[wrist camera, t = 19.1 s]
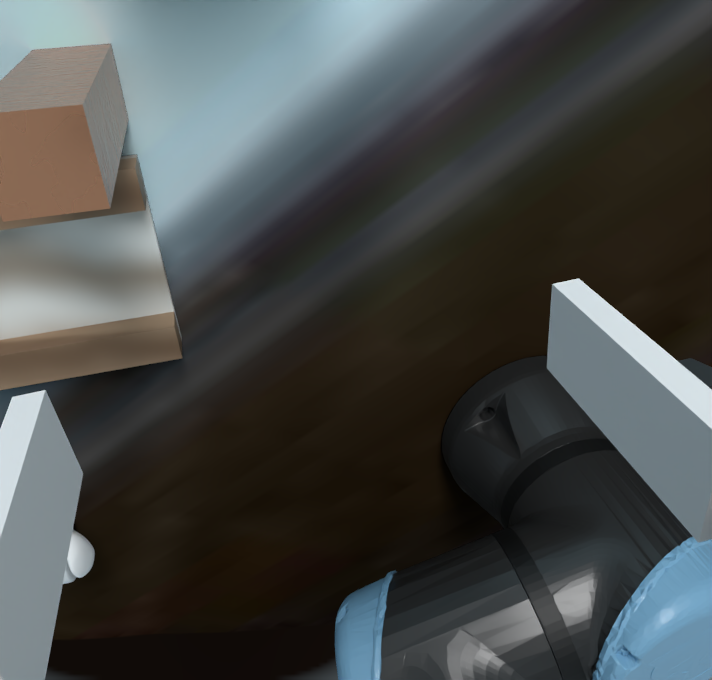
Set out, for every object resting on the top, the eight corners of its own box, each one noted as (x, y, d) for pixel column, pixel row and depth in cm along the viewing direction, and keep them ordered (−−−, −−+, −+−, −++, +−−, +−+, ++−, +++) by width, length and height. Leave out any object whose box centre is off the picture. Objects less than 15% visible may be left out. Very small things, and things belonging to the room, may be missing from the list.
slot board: (181, 337, 46) (182, 358, 43) (-33, 374, 43) (-43, 397, 41) (136, 154, 38) (135, 168, 36) (-123, 186, 36) (-141, 202, 34)
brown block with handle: (132, 136, 38) (116, 231, 26) (-27, 153, 36) (-117, 262, 25) (106, 23, 34) (75, 75, 23) (-70, 36, 33) (-197, 99, 22)
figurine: (86, 478, 50) (77, 538, 45) (109, 547, 55) (103, 608, 50) (-8, 494, 49) (-28, 558, 44) (23, 563, 53) (8, 628, 48)
